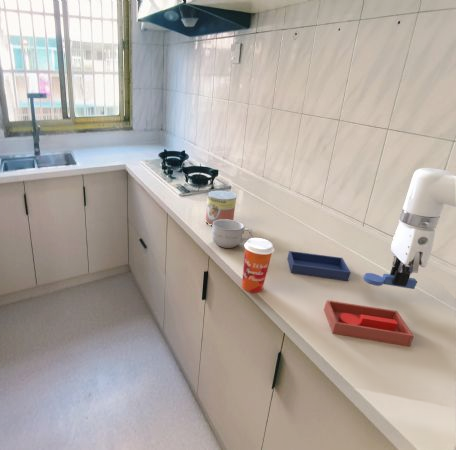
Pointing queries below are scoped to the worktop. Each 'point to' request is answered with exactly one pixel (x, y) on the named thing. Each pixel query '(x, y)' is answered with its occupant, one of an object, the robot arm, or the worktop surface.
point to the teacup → (229, 233)
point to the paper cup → (256, 263)
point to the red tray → (395, 337)
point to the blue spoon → (387, 280)
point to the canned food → (220, 205)
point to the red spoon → (369, 321)
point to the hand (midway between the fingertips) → (397, 282)
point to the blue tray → (318, 265)
